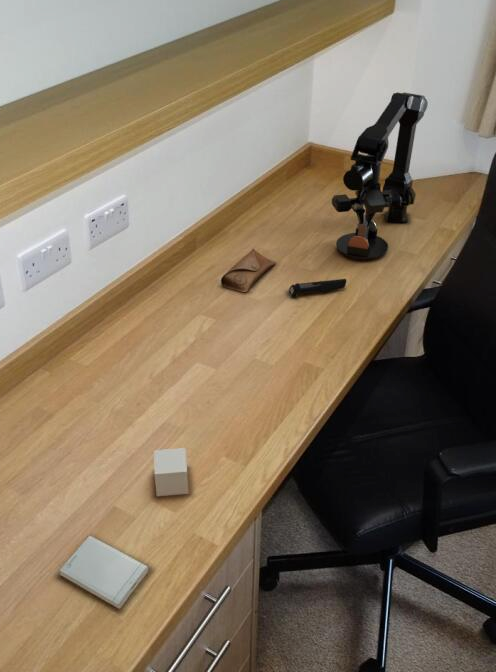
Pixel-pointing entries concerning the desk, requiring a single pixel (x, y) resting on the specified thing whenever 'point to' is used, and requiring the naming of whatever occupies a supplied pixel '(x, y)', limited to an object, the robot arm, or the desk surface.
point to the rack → (362, 242)
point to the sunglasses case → (246, 271)
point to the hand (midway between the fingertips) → (363, 227)
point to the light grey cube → (170, 472)
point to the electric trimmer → (316, 287)
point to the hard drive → (104, 571)
